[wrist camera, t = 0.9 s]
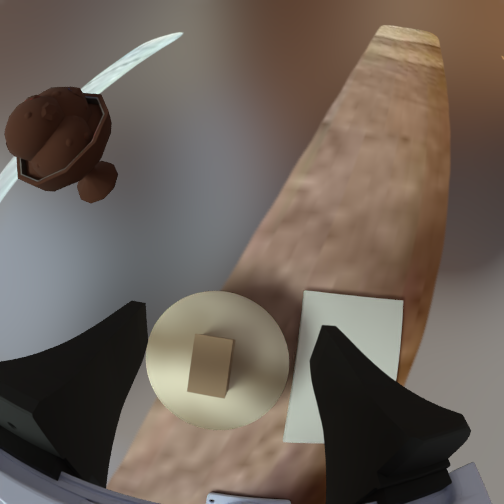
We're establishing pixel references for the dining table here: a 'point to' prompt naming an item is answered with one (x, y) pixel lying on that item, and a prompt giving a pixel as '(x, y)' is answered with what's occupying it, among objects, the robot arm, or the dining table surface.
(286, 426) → the mat
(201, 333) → the lid
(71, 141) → the ice cream bowl
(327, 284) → the dining table surface
